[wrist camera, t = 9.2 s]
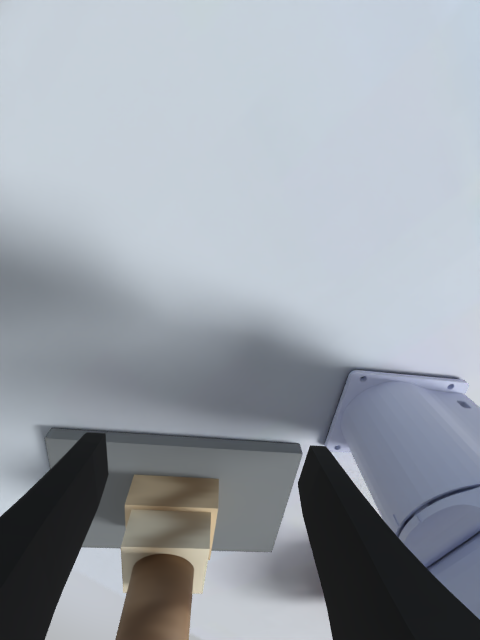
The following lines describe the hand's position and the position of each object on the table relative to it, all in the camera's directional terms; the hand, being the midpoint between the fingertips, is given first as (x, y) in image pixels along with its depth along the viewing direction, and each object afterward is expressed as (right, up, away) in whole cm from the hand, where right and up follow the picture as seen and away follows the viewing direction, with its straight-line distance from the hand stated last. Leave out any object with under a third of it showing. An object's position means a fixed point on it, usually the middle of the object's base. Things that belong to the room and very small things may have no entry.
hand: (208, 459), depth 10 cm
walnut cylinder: (-4, -13, +11) cm, 18 cm away
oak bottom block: (-5, -11, +15) cm, 20 cm away
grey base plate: (-5, -11, +16) cm, 20 cm away
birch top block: (-5, -12, +13) cm, 19 cm away
